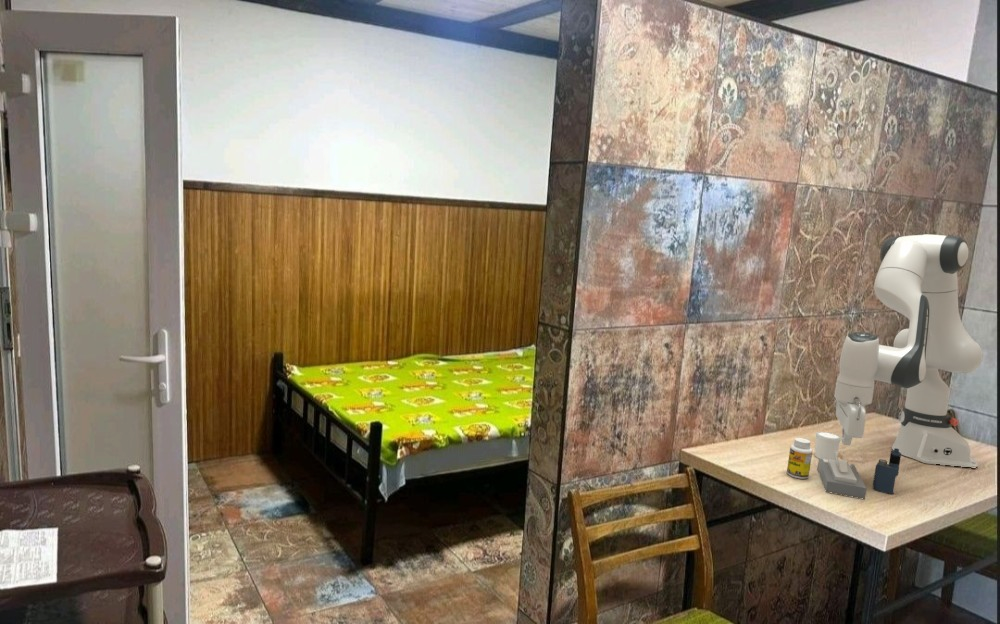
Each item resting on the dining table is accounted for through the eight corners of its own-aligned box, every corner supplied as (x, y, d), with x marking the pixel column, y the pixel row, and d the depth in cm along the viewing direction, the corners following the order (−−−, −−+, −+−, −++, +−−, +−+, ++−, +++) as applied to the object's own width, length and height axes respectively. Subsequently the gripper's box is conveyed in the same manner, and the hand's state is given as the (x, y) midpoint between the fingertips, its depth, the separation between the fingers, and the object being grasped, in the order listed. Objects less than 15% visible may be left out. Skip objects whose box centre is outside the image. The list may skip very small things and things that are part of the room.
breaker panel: (852, 474, 185) (854, 461, 184) (864, 499, 168) (867, 484, 167) (817, 468, 187) (819, 455, 187) (825, 492, 171) (828, 477, 170)
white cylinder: (840, 463, 194) (844, 440, 193) (815, 459, 195) (819, 437, 194) (834, 455, 200) (837, 433, 199) (810, 452, 202) (813, 430, 201)
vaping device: (894, 495, 172) (902, 451, 170) (871, 489, 174) (879, 446, 173) (894, 492, 174) (902, 448, 172) (872, 486, 177) (879, 444, 175)
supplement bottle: (781, 472, 182) (787, 437, 181) (796, 470, 185) (801, 436, 183) (798, 480, 177) (803, 444, 176) (813, 478, 179) (818, 442, 178)
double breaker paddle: (842, 461, 180) (841, 450, 180) (847, 472, 173) (846, 460, 173) (836, 462, 181) (834, 451, 181) (841, 472, 173) (839, 460, 173)
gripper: (875, 405, 163) (866, 458, 165) (859, 387, 182) (852, 434, 184) (846, 401, 165) (838, 454, 167) (834, 383, 184) (827, 431, 186)
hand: (845, 443), depth 176 cm, fingers closed
